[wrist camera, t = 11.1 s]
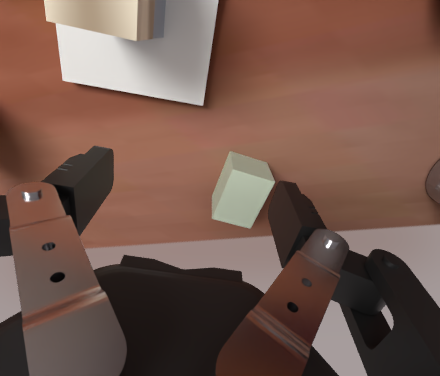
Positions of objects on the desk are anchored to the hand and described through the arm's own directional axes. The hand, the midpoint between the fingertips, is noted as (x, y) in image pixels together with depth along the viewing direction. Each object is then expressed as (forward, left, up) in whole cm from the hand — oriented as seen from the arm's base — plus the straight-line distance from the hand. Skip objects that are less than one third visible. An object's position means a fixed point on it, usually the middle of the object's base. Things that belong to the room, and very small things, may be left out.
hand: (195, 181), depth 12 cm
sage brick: (-6, +9, -19) cm, 22 cm away
